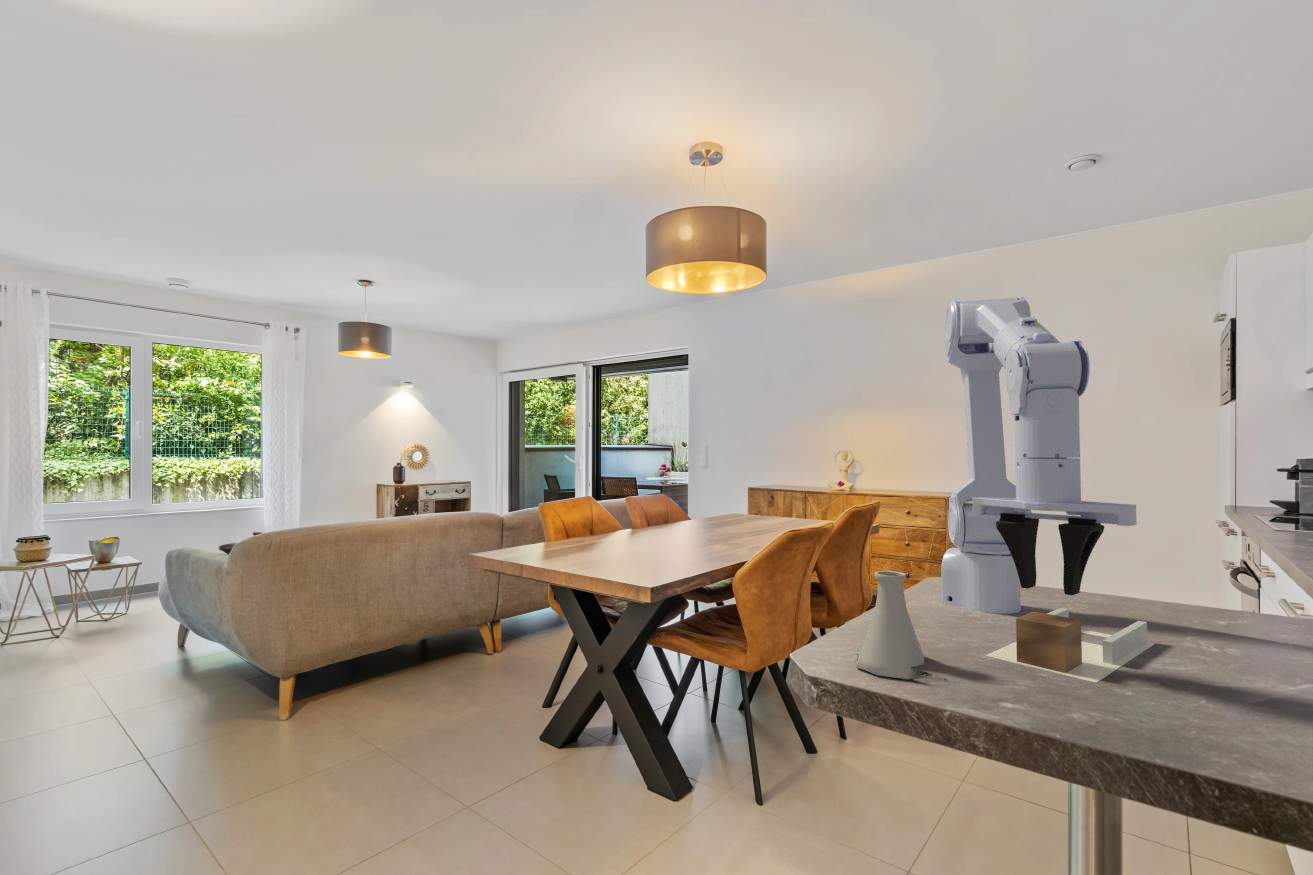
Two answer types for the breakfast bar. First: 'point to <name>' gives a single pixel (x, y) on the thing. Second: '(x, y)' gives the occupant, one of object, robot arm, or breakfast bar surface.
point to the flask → (891, 633)
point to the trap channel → (1095, 651)
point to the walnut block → (1049, 641)
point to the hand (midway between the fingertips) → (1049, 590)
